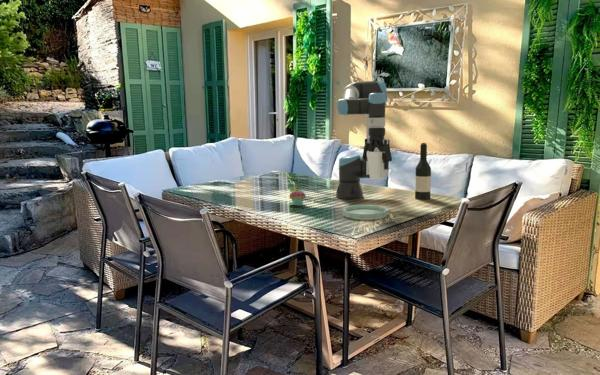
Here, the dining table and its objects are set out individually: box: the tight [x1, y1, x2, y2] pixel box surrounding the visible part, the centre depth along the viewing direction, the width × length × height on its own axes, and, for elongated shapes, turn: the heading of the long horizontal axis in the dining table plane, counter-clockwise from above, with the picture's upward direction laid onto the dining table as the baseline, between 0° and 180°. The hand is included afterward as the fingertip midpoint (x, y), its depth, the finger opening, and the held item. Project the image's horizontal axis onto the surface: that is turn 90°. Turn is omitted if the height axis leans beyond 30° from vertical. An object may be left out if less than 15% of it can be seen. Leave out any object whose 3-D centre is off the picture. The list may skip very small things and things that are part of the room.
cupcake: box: [289, 182, 307, 206], centre depth 235 cm, size 9×8×12 cm
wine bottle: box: [414, 142, 432, 201], centre depth 242 cm, size 8×8×30 cm
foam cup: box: [367, 150, 386, 181], centre depth 209 cm, size 10×9×13 cm
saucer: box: [342, 204, 389, 221], centre depth 209 cm, size 20×20×2 cm
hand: (376, 175), depth 210 cm, fingers closed on foam cup, 9 cm apart
